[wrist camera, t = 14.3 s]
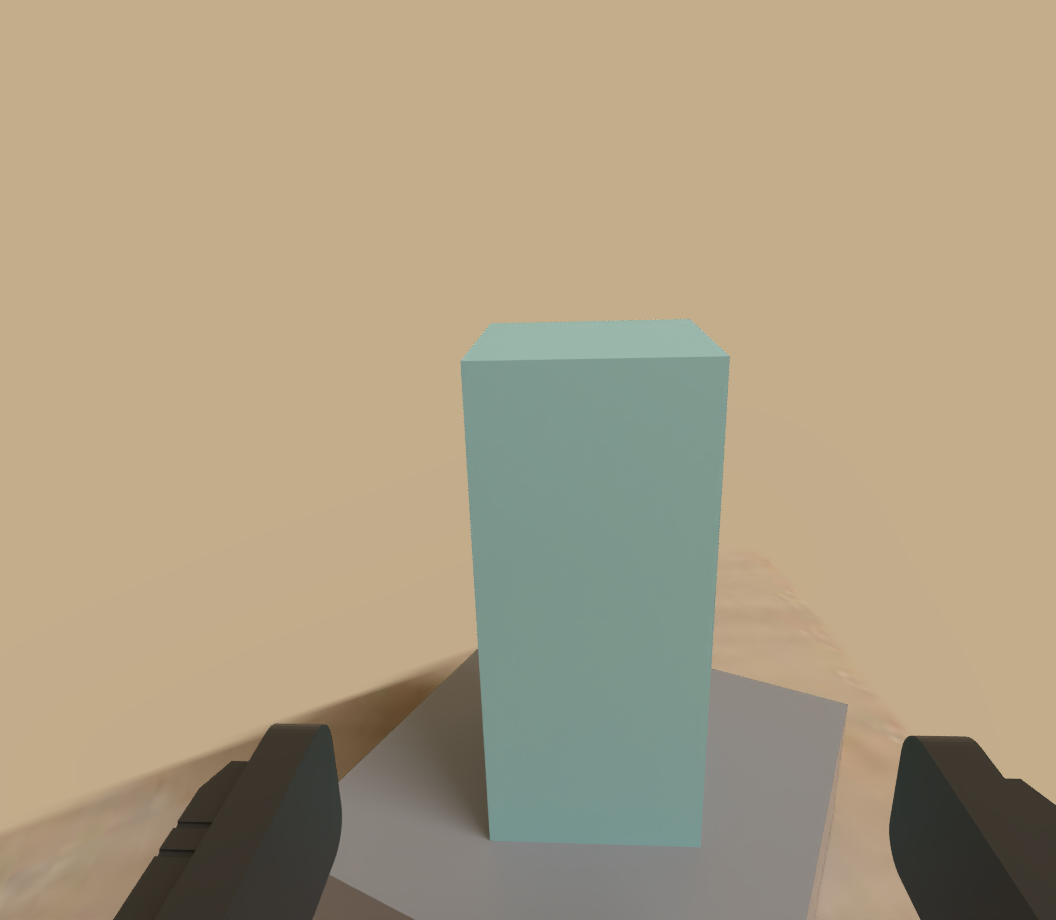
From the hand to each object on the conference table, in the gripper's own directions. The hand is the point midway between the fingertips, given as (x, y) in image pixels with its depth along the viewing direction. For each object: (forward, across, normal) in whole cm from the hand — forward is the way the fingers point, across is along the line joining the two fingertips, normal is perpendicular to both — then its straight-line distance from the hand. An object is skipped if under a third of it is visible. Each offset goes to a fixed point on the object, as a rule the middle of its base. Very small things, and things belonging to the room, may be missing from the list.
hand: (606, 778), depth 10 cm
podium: (+11, 0, +14) cm, 18 cm away
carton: (+11, 0, +10) cm, 14 cm away
